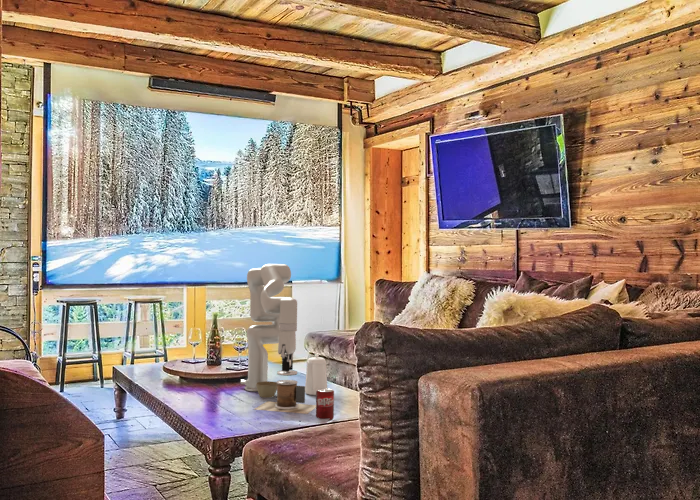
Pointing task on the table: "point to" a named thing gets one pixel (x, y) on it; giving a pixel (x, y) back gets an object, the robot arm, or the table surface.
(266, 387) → the flower pot
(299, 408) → the serving board
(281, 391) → the mug
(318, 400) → the soda can
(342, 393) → the table surface
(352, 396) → the table surface
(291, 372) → the silver knobbed lid
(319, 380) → the coffeepot
